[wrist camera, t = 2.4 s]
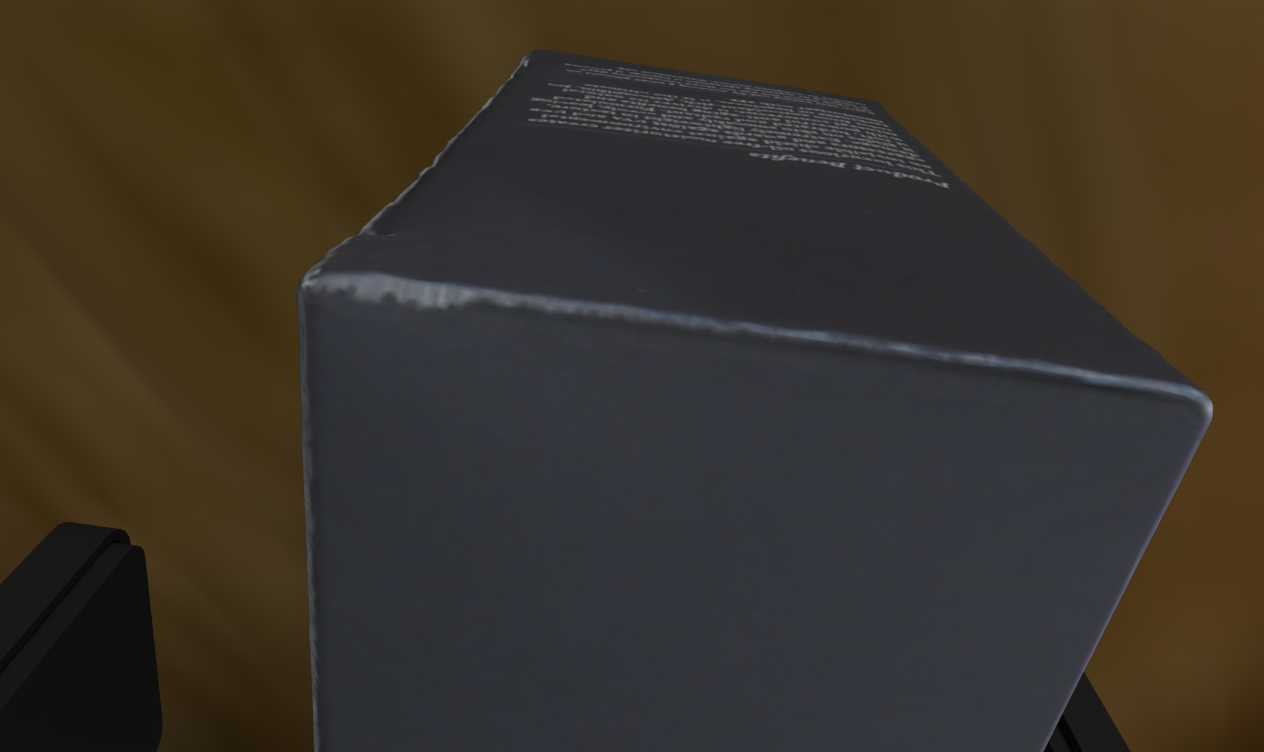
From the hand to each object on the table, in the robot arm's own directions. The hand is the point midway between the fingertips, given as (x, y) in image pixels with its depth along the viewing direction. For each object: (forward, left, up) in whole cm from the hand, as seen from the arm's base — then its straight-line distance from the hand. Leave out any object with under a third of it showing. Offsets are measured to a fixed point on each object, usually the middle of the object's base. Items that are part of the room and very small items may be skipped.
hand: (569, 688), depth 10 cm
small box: (-1, 0, -8) cm, 8 cm away
